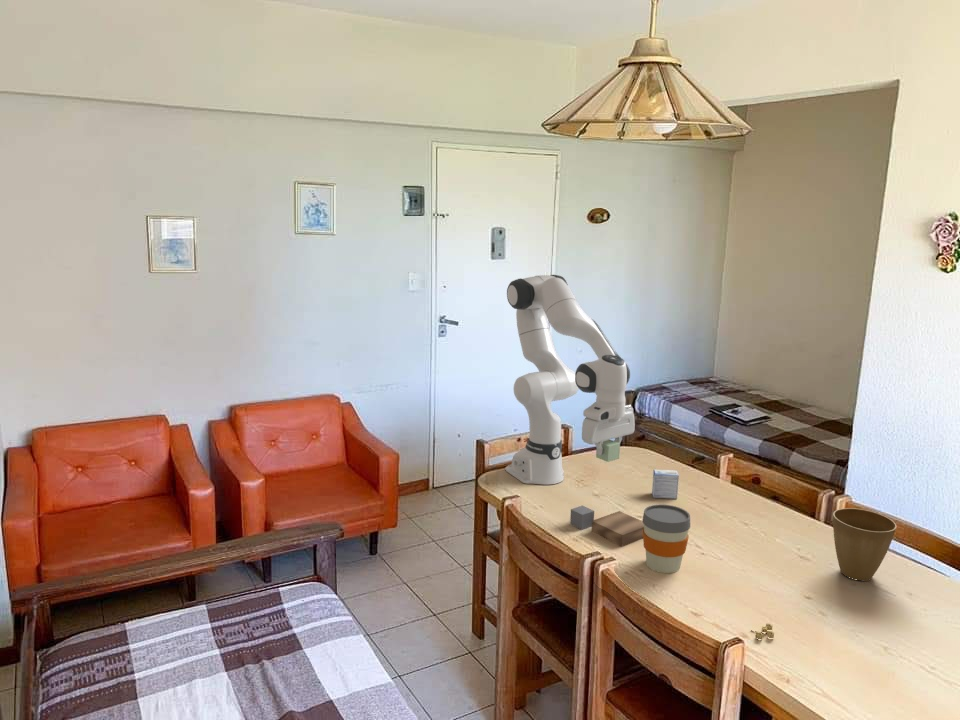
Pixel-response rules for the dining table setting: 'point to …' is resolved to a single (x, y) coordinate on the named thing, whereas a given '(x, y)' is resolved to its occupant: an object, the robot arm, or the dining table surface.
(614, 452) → the sage block
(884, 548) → the plant pot
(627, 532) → the walnut plinth
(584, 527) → the charcoal block
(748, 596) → the dining table surface
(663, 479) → the medicine box
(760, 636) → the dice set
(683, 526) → the reusable coffee cup
